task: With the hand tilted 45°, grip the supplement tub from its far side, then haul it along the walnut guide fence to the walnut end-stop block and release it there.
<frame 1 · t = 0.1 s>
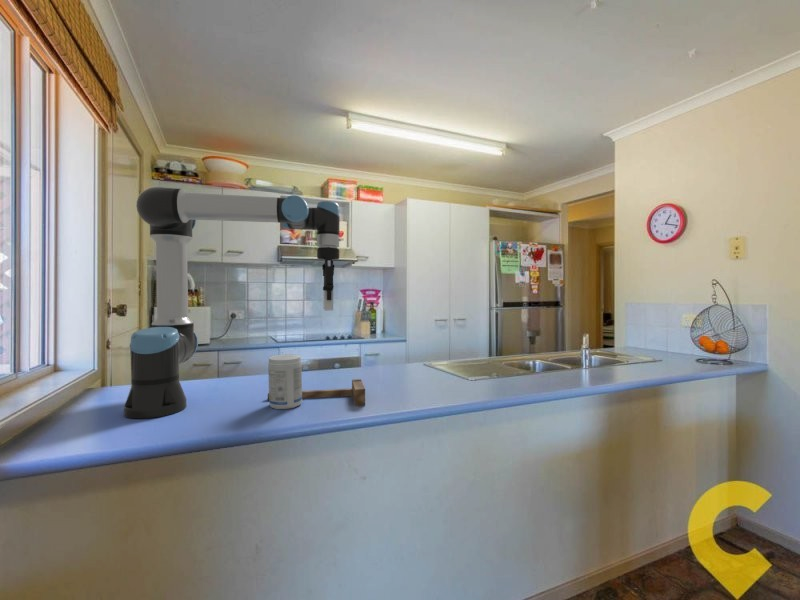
hand: (328, 309, 132), 28 cm above the table, tool pointing down, fingers open, 13 cm apart
supplement tub: (285, 405, 116), on the table
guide: (316, 403, 117), on the table
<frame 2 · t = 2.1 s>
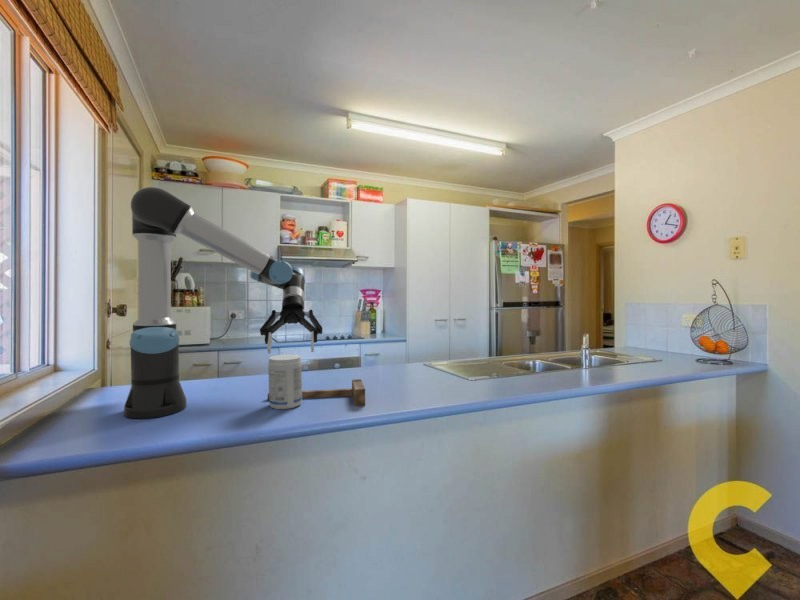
hand: (290, 350, 124), 15 cm above the table, tool tilted 45°, fingers open, 13 cm apart
nothing on the table moved.
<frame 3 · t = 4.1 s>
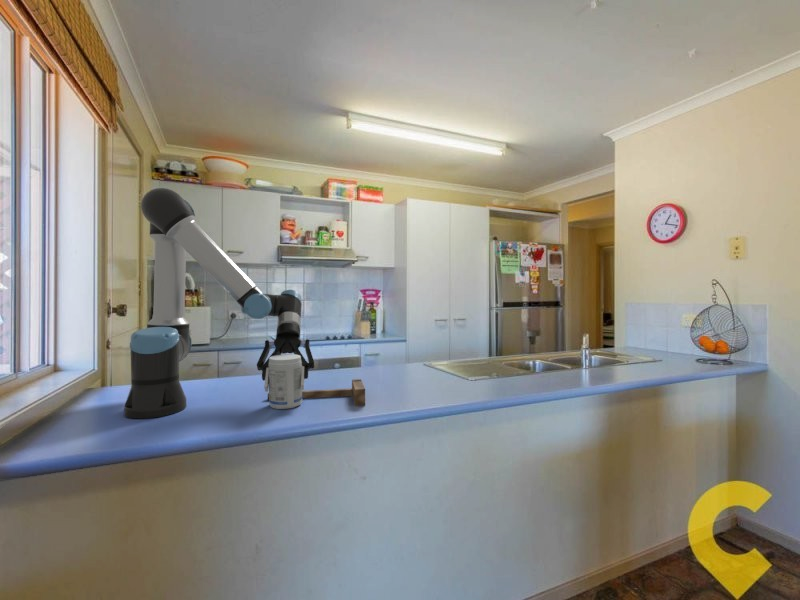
hand: (284, 388, 112), 6 cm above the table, tool tilted 45°, fingers closed on supplement tub, 9 cm apart
supplement tub: (285, 405, 116), on the table, touching gripper
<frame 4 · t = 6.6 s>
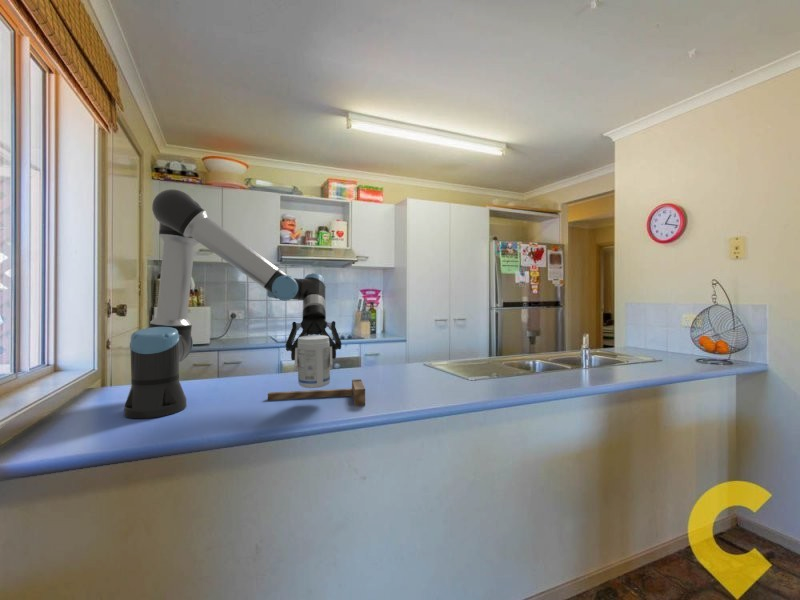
hand: (313, 367, 114), 12 cm above the table, tool tilted 45°, fingers closed on supplement tub, 9 cm apart
supplement tub: (314, 385, 117), point 6 cm above the table, touching gripper
when the fingers open (7 cm above the table, at t = 9.0 s): supplement tub drops 1 cm, on the table.
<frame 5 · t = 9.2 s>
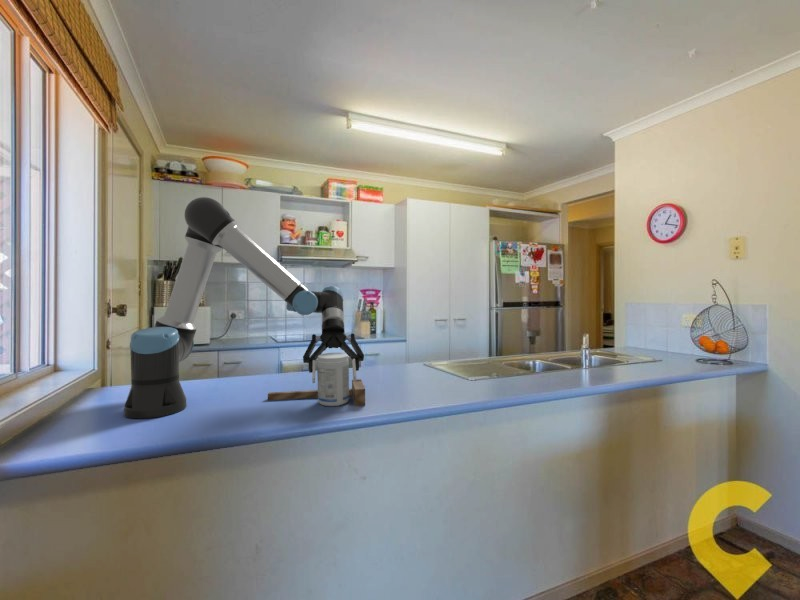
hand: (334, 379, 116), 8 cm above the table, tool tilted 45°, fingers open, 11 cm apart
supplement tub: (333, 403, 119), on the table
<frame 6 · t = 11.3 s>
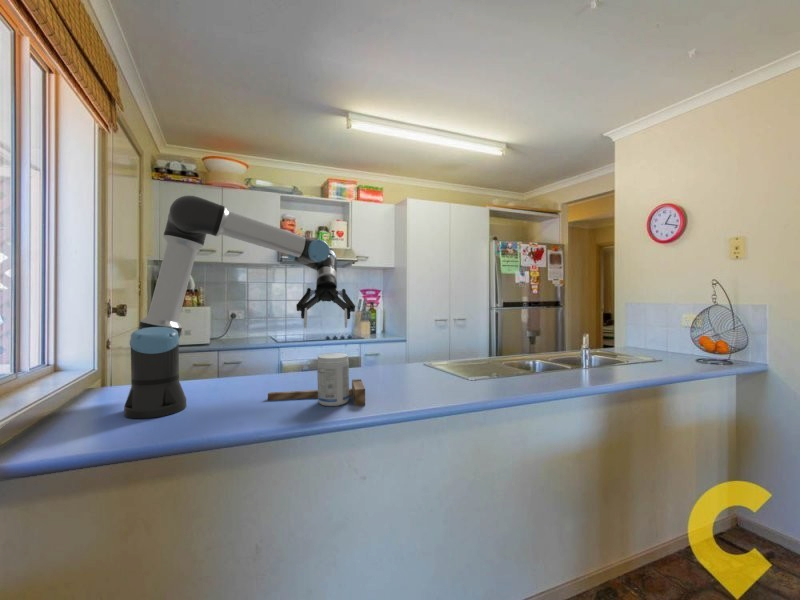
hand: (325, 325, 130), 23 cm above the table, tool tilted 45°, fingers open, 13 cm apart
nothing on the table moved.
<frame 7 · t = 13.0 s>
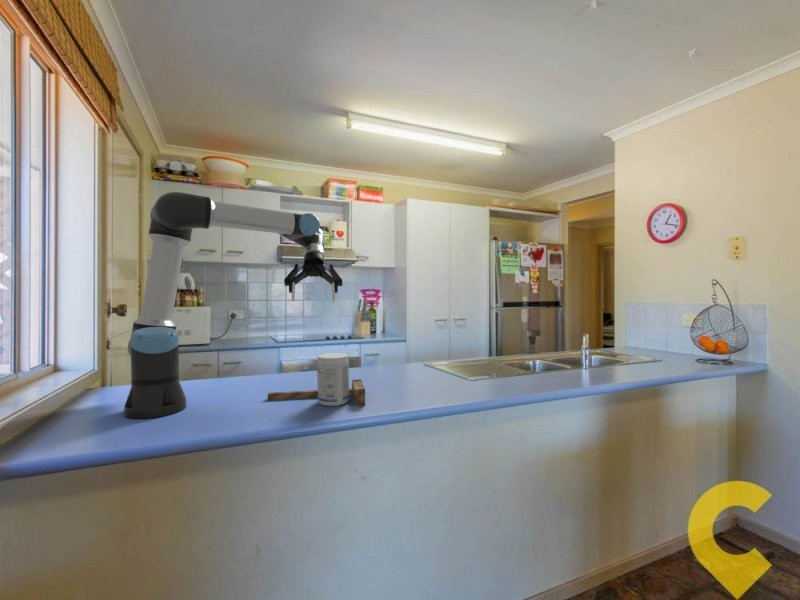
hand: (313, 298, 132), 32 cm above the table, tool tilted 45°, fingers open, 13 cm apart
nothing on the table moved.
at the end: supplement tub inside the target area (1.6 cm from its centre), on the table; supplement tub tilted 0°; the gripper is holding nothing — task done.
